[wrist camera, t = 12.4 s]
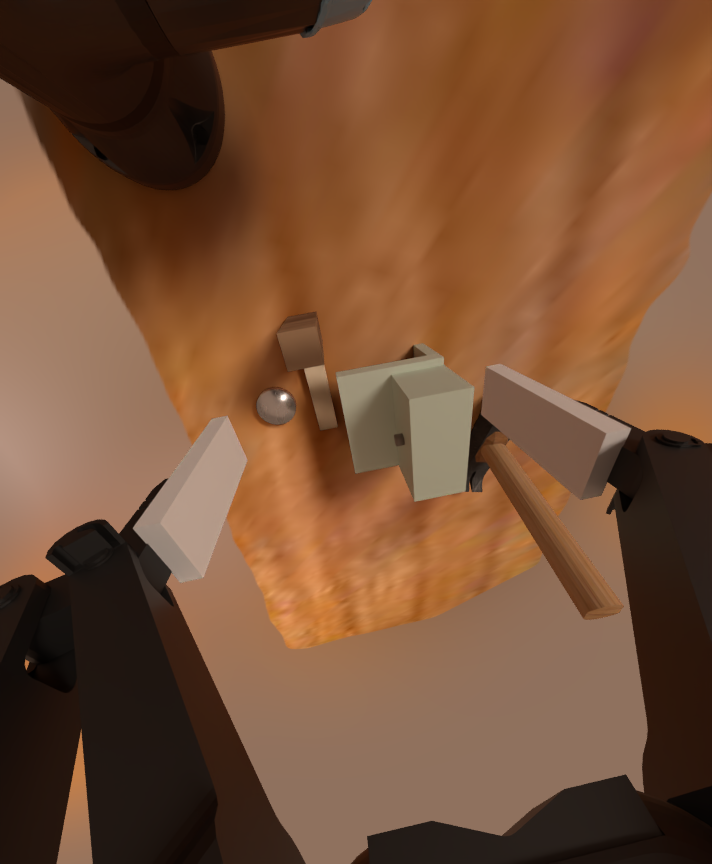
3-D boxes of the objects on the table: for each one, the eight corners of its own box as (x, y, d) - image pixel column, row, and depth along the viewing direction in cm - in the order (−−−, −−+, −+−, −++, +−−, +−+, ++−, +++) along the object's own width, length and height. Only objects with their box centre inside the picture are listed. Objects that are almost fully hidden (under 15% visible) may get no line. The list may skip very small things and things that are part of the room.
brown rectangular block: (287, 317, 37) (276, 333, 27) (316, 311, 37) (315, 326, 27) (317, 427, 47) (317, 471, 36) (340, 423, 47) (346, 465, 36)
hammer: (470, 469, 59) (561, 637, 36) (448, 468, 58) (528, 640, 36) (520, 391, 46) (709, 576, 24) (494, 388, 45) (664, 578, 23)
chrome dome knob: (255, 386, 42) (253, 390, 41) (294, 386, 43) (293, 389, 41) (261, 421, 45) (259, 425, 44) (297, 419, 46) (297, 423, 44)
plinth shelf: (333, 360, 41) (341, 403, 27) (422, 343, 41) (475, 377, 28) (350, 445, 49) (362, 512, 36) (424, 431, 50) (465, 491, 36)
